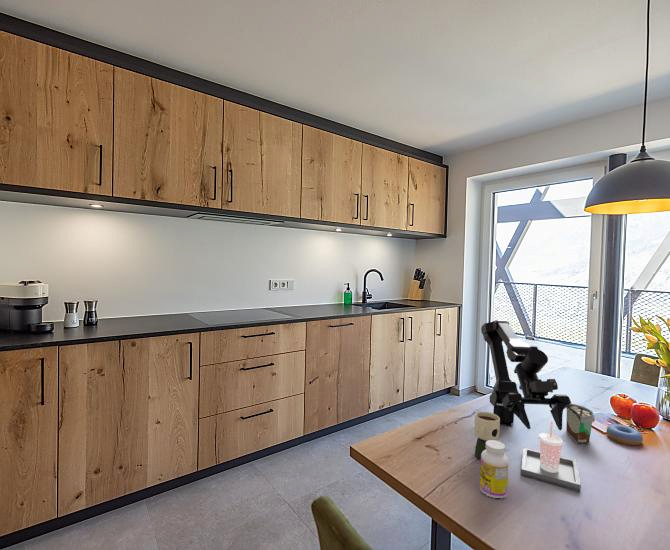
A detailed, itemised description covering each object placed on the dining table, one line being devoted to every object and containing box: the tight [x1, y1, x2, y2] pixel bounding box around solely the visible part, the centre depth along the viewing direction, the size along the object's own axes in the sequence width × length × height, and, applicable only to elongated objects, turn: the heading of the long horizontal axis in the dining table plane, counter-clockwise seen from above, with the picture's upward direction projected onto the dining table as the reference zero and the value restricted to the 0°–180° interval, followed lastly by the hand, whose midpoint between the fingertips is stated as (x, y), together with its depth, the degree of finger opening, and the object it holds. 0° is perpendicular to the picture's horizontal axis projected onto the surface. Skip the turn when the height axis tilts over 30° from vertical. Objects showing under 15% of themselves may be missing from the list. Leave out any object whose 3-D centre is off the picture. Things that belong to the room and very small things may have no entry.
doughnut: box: [606, 423, 644, 446], centre depth 128 cm, size 10×10×5 cm
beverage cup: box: [538, 420, 564, 473], centre depth 108 cm, size 6×6×14 cm
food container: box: [565, 403, 596, 445], centre depth 128 cm, size 12×6×10 cm, turn 168°
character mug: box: [473, 411, 501, 459], centre depth 114 cm, size 11×7×13 cm, turn 141°
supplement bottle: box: [479, 440, 510, 499], centre depth 97 cm, size 7×7×13 cm
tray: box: [520, 447, 582, 493], centre depth 108 cm, size 14×14×2 cm
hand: (545, 429), depth 111 cm, fingers open, 9 cm apart
